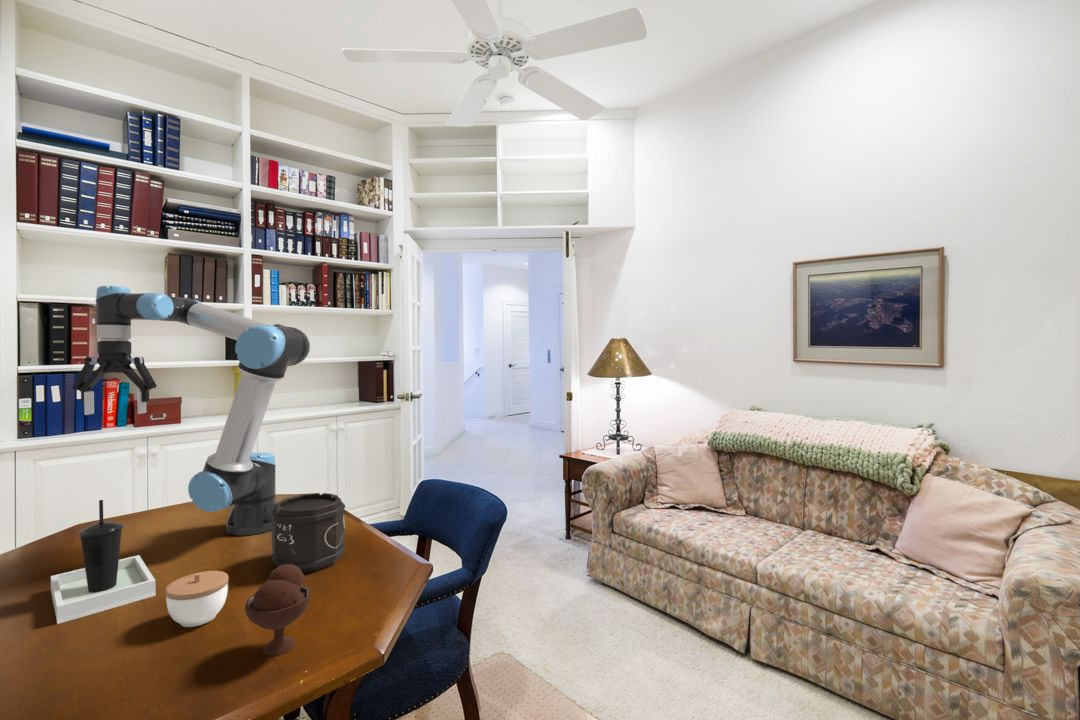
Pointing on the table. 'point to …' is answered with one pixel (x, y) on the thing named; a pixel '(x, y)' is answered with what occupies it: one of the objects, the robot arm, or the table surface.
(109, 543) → the drinking cup
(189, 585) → the lidded jar
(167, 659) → the table surface
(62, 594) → the tray
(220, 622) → the table surface
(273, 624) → the ice cream bowl
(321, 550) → the labeled octagonal canister
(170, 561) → the table surface
